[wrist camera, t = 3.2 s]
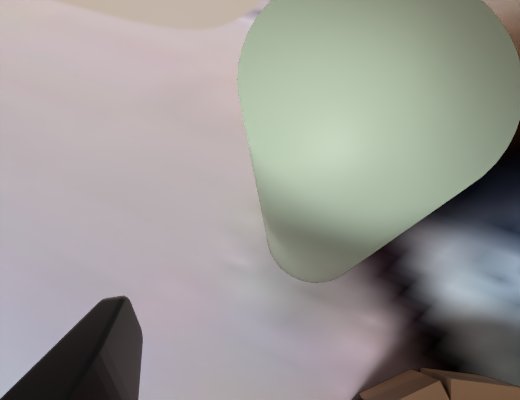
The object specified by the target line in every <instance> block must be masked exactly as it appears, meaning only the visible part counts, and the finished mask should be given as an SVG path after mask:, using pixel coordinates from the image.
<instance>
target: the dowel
mask: <svg viewBox="0 0 520 400" xmlns="http://www.w3.org/2000/svg"><path fill="white" fill-rule="evenodd" d="M237 80H238V93H239V100H240V105H241V110H242V115H243V120H244V125H245V130H246V135H247V140H248V145H249V150H250V155H251V160H252V165H253V171H254V176H255V181H256V186H257V191H258V196H259V201H260V206H261V211H262V216H263V221H264V226H265V231H266V236H267V241H268V246H269V249H270V252H271V254H272V256H273V258H274V260H275V261H276V263H277V264H278V265H279V266H280V267H281V268H282V269H283V270H284V271H285V272H286V273H288V274H289V275H291V276H292V277H294V278H297V279H299V280H302V281H306V282H314V283H319V282H326V281H330V280H333V279H336V278H338V277H339V276H341V275H343V274H344V273H346V272H347V271H348V270H350V269H351V268H353V267H354V266H356V265H357V264H358V263H360V262H361V261H363V260H364V259H366V258H367V257H368V256H370V255H371V254H373V253H374V252H376V251H377V250H378V249H380V248H381V247H383V246H384V245H386V244H387V243H388V242H390V241H391V240H393V239H394V238H396V237H397V236H398V235H400V234H401V233H403V232H404V231H406V230H407V229H409V228H410V227H411V226H413V225H414V224H416V223H417V222H419V221H420V220H421V219H423V218H424V217H426V216H427V215H429V214H430V213H431V212H433V211H434V210H436V209H437V208H439V207H440V206H441V205H443V204H444V203H446V202H447V201H449V200H450V199H451V198H453V197H454V196H456V195H457V194H459V193H460V192H461V191H463V190H464V189H466V188H467V187H468V186H470V185H471V184H473V183H474V182H475V181H477V180H478V179H480V178H481V177H482V176H483V175H484V174H485V173H486V172H487V171H489V170H490V169H491V168H492V167H493V166H494V165H495V164H496V162H497V161H498V160H499V159H500V157H501V156H502V155H503V153H504V152H505V151H506V149H507V147H508V146H509V144H510V142H511V140H512V138H513V136H514V134H515V132H516V129H517V126H518V123H519V120H520V60H519V57H518V53H517V50H516V48H515V46H514V44H513V41H512V39H511V37H510V35H509V34H508V32H507V30H506V29H505V27H504V26H503V24H502V22H501V21H500V20H499V19H498V17H497V16H496V15H495V14H494V13H493V11H492V10H491V9H490V8H489V7H488V6H487V5H486V4H485V3H484V2H483V1H482V0H271V1H270V2H269V3H268V4H267V5H266V6H265V7H264V9H263V10H262V11H261V13H260V14H259V15H258V17H257V18H256V19H255V21H254V23H253V25H252V26H251V28H250V30H249V32H248V34H247V36H246V39H245V42H244V44H243V47H242V50H241V55H240V59H239V65H238V79H237Z"/></svg>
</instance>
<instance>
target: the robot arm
mask: <svg viewBox="0 0 520 400" xmlns="http://www.w3.org/2000/svg"><path fill="white" fill-rule="evenodd" d="M142 344H143V337H142V330H141V327H140V325H139V322H138V320H137V317H136V314H135V312H134V309H133V307H132V304H131V302H130V300H129V299H128V298H127V297H126V296H118V297H111V298H106V299H103V300H101V301H100V302H99V303H98V304H97V305H96V306H95V307H94V308H93V309H92V310H91V311H90V312H89V313H88V314H86V315H85V316H84V317H83V318H82V319H81V320H80V321H79V322H78V323H77V324H76V325H75V326H74V327H73V328H72V329H71V330H70V331H69V332H68V333H67V334H66V335H65V336H64V337H63V338H62V339H61V340H60V341H59V342H58V343H57V344H56V345H55V346H54V347H53V348H52V349H51V350H50V351H49V352H48V353H47V354H46V355H45V356H44V357H43V358H42V359H41V360H40V361H39V362H37V363H36V364H35V365H34V366H33V367H32V368H31V369H30V370H29V371H28V372H27V373H26V374H25V375H24V376H23V377H22V378H21V379H20V380H19V381H18V382H17V383H16V384H15V385H14V386H13V387H12V388H11V389H10V390H9V391H8V392H7V393H6V394H5V395H4V396H3V397H2V398H1V399H0V400H138V396H139V383H140V370H141V357H142Z"/></svg>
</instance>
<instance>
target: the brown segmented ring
mask: <svg viewBox="0 0 520 400" xmlns="http://www.w3.org/2000/svg"><path fill="white" fill-rule="evenodd" d="M359 394H360V397H361V399H362V400H520V387H519V386H516V385H512V384H509V383H505V382H502V381H499V380H495V379H492V378H488V377H485V376H482V375H476V374H468V373H460V372H452V371H444V370H436V369H428V368H420V372H417V371H415V370H412V369H410V370H408V371H406V372H403V373H401V374H399V375H397V376H395V377H393V378H391V379H389V380H386V381H384V382H382V383H380V384H378V385H376V386H374V387H372V388H369V389H367V390H365V391H363V392H361V393H359Z"/></svg>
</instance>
